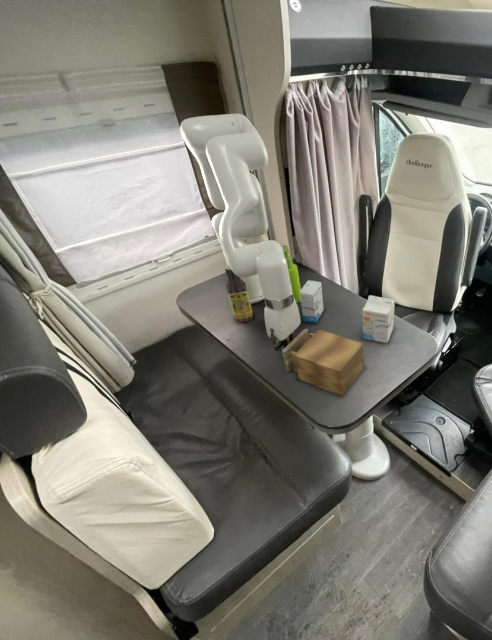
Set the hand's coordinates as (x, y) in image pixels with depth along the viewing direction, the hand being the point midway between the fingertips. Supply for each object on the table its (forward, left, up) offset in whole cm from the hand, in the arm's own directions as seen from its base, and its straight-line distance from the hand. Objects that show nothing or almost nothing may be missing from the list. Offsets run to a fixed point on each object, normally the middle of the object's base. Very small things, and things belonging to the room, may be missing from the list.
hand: (290, 350), depth 109 cm
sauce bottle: (-28, +10, -4) cm, 30 cm away
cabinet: (+14, 0, -4) cm, 15 cm away
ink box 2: (+18, +23, -4) cm, 30 cm away
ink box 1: (-7, +22, -4) cm, 23 cm away
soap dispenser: (-20, +28, -4) cm, 34 cm away
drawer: (+6, 0, -3) cm, 7 cm away
